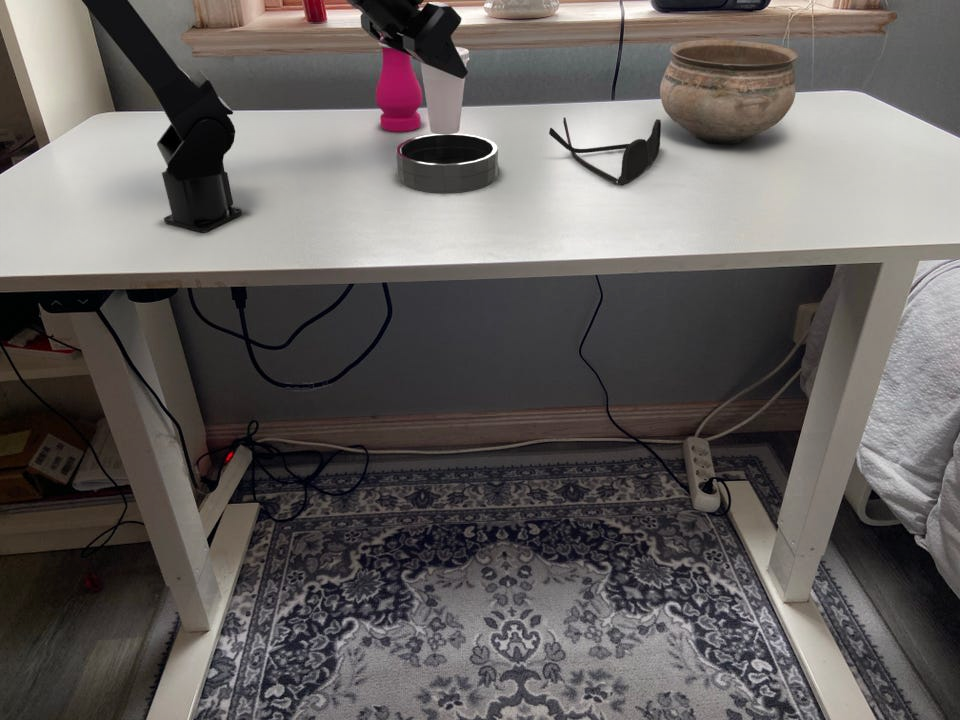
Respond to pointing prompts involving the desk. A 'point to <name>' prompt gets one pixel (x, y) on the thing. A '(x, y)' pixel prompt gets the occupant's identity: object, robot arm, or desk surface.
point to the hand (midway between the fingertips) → (453, 70)
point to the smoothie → (444, 97)
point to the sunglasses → (634, 155)
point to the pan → (447, 163)
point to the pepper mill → (398, 91)
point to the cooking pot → (728, 88)
